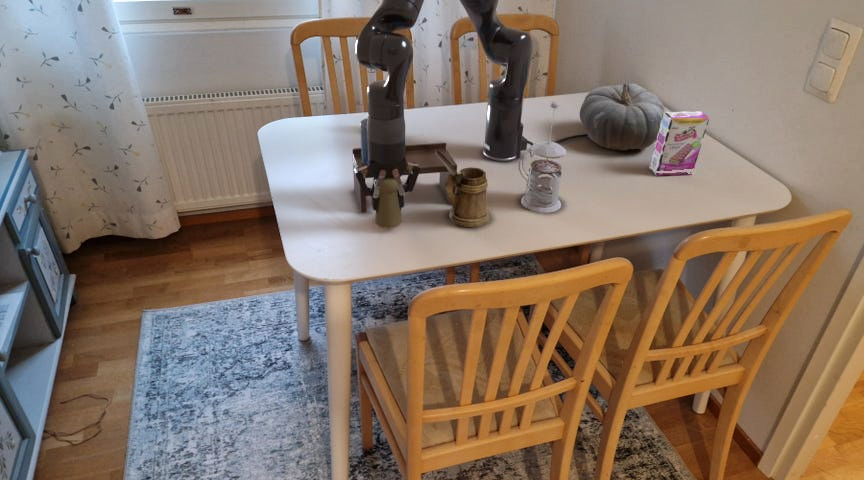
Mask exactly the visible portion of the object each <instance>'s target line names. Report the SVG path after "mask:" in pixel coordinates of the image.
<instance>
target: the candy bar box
mask: <svg viewBox="0 0 864 480" xmlns="http://www.w3.org/2000/svg"><path fill="white" fill-rule="evenodd" d="M709 121H710V117H709V115H708V116H707V115H706V114H705V113H704V112H702V111H700V110H699V111H697V110H695V111H664V112H663V116H662V120H661V124H660V127H659V131H658V135H657V139H656V141H655V142H654V147H653V151H652V155H651V158H650V163H649V167H648V169H649V170H650V171H651V172H652V174H654V175H655V176H656V177H658V176H659V177H661V176H663V177H665V176H685V175H686V176H688V175H690V174H688V173H687V172H676V173H656V172H655V171H654V170H653V169H652V168H651V167H650V165H651V166H652V167H653V168H654V169H655V170H656V171H672V170H684V169H693V168H694V169H695V167H696V164H697V161H698V158H699V157H698V156H699V154H700V151H701V147H702V143H703V141H704V138H705V134H706V132H707V128H708V125H709ZM690 173H691V172H690Z"/></svg>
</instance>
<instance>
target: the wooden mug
mask: <svg viewBox="0 0 864 480" xmlns="http://www.w3.org/2000/svg"><path fill="white" fill-rule="evenodd" d="M436 155H437V156H438V158H439V159H440V160H441V161H442V163H443V164H444V165H445V166H446V168H447V169H448V170H449V172H450V173H449V175H448V177H447V180H446V183H445V192H446V195H447V197H448V199H449V200H450V202H451V204H450V205H451V207H450V211H449V218H450V220H451V221H452V222H453V223H454V224H455V225H457V226H460V227H464V228H479V227H482V226H484V225H486V224H487V223H488V222H489V220H490V212H489V209H488V196H487V195H488V194H487V193H488V192H487V189H488V186H489V185H488V179H487V173H486V172H485V170H483V169H482V168H479V167H466V168H462V169H460V170H459V171H458V170H457V171H456V169H455V168H454V167H453V165H452V164H451V163H450V161H449V160H448V159H447V158H446V157H445V156H444V155H443V154H442V153H441V152H440V151H438V150H436ZM454 185H455V186H456V191H455V194H454V193H453V192H452V189H453V186H454Z"/></svg>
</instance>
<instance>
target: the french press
mask: <svg viewBox="0 0 864 480" xmlns="http://www.w3.org/2000/svg"><path fill="white" fill-rule="evenodd" d="M549 107H550V108H552V118H551V125H550V132H549V140H547V141H545V140H542V141H539V142H536V143H533V145H532V146H531V145H530V149H528V150H526V151H525V152H523V153H522V154H521V155H520V158H518V159H519V160H518V171H519V173H520V175H521V177H522V178H523V179H524V180H525V181H526V187H525V195H523V196H522V197H521V199H520V203H521V205H522V206H523V207H524V208H525V209H528V210H529V211H532V212H536V213H541V214H542V213H544V214H545V213H546V214H547V213H548V214H549V213H553V212H556V211H558V210H560V209H561V208H562V202H561V201H560V199H559V193H560V187H561V181H562V171H561V170H562V165H561V164H560V163H558V162H556V161H554V159H561V158H562V157H564V156H565V155H566V153H567V150H566V149H565V147H563V145H561V144H559V143H555V142H554V141H551V137H552V130H553V124H554V117H555V116H554V115H555V110H556V109H558V108H559V107H560V103H559V102H558V101H551V102H550V105H549ZM527 153H530V156H529V157H530V158H533V157H534V156H535V155H536V156H538V157H541V158H540V159H535V160H533V161H531V163H530V167H531V168H529V169H528V173H527V172H526V171H525V168H524V159H525V156H526V155H527ZM532 153H533V154H532ZM542 158H544V159H542ZM545 158H546V159H545ZM550 159H551V160H550ZM521 166H522V171H523V172H524V174H525V175H526V176H527V178H526V177H525V176H524V174H523V173H522V171H521ZM542 175H548V176H542ZM539 176H540V177H539ZM549 176H550V177H549Z"/></svg>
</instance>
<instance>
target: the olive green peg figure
mask: <svg viewBox="0 0 864 480" xmlns="http://www.w3.org/2000/svg"><path fill="white" fill-rule="evenodd" d="M376 182H377V180H376V179H375V183H376ZM398 189H399V187H398V182H397V181H396V180H395V179H394V178H384V181H383V182H382V183H381V184H380V189H378V190H379V191H380V193H379V196H378V197H379V199H380V201H379V209H378V213H376V210H375V211H374V220H373V221H374V224H375V225H376V226H378V227H380V228H383V229H384V228H385V229H393V228H397V227H399V226H400V225H402V223H403V216H402V209H401V210H400V207H399V201H398Z"/></svg>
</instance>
